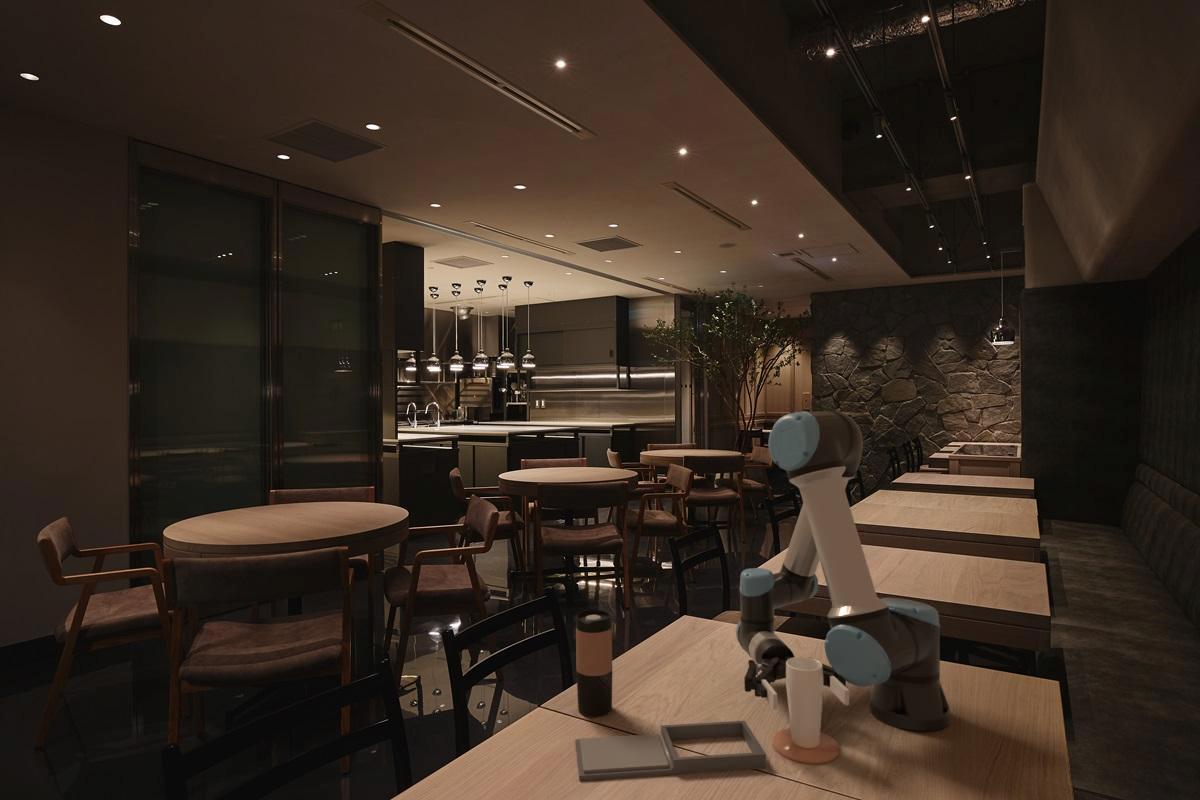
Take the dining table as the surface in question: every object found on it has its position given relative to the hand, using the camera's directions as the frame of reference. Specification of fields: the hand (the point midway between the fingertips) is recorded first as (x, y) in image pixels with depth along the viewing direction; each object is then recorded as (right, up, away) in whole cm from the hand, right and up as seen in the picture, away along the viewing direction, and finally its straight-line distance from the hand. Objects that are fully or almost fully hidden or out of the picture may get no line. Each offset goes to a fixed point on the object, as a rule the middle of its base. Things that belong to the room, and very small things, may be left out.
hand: (811, 699), depth 125 cm
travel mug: (-40, -11, +20) cm, 46 cm away
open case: (-26, -11, +1) cm, 28 cm away
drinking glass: (0, -10, +4) cm, 11 cm away
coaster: (0, -10, +3) cm, 11 cm away
